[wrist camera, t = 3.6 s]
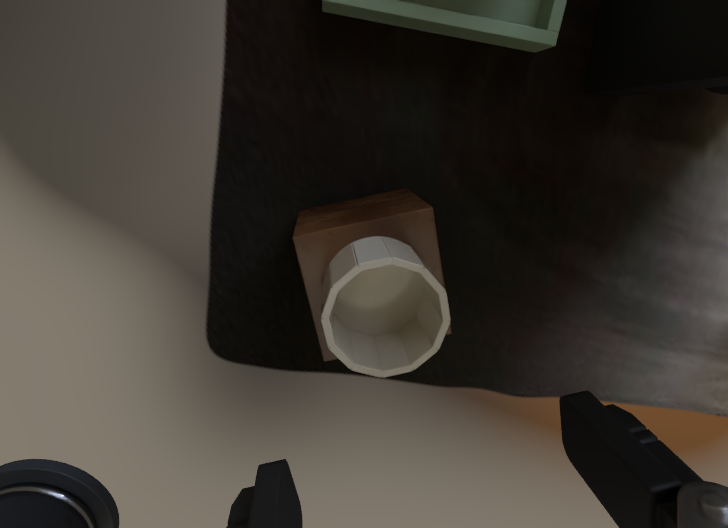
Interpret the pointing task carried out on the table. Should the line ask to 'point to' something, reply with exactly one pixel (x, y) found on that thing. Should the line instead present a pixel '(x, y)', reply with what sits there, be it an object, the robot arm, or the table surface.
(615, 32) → the light fixture
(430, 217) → the block
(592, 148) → the table surface
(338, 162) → the table surface
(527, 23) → the tray
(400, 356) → the small bowl
